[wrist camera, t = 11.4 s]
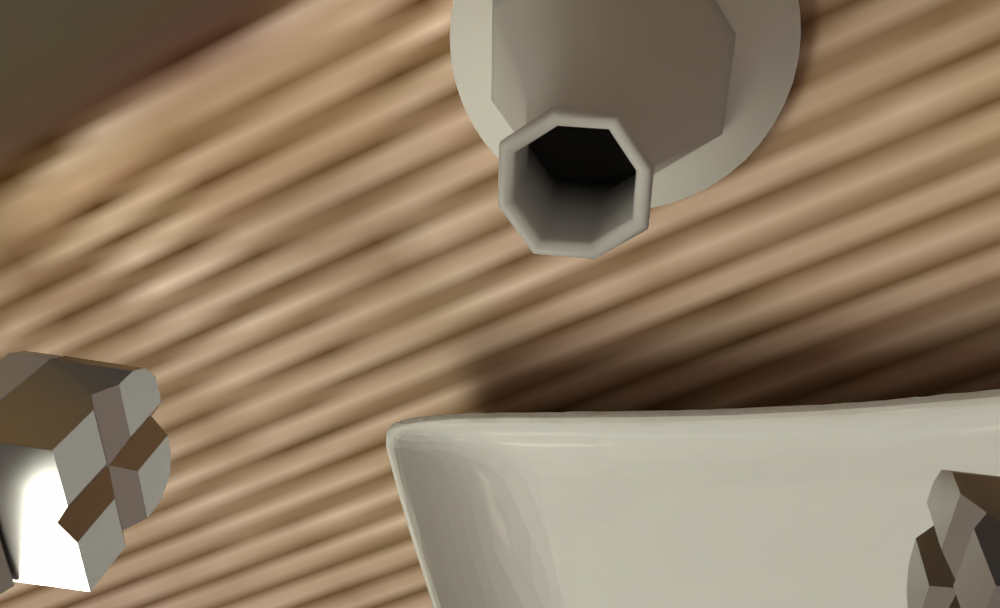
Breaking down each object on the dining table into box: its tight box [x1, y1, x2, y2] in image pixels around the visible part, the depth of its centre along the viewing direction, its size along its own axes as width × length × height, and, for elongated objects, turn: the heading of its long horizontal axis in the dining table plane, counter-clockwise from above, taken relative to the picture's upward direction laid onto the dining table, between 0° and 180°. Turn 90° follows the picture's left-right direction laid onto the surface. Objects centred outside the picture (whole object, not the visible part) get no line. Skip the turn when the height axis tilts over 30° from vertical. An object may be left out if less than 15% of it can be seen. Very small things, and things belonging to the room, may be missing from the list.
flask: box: [491, 0, 736, 259], centre depth 23 cm, size 7×7×10 cm
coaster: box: [450, 0, 801, 208], centre depth 27 cm, size 10×10×1 cm
